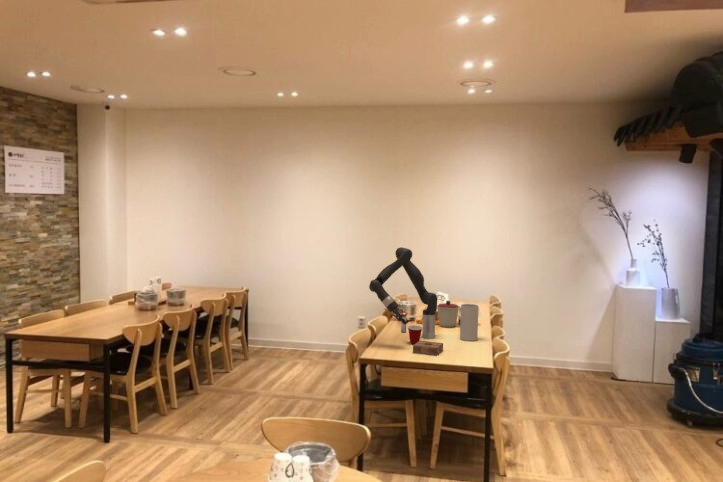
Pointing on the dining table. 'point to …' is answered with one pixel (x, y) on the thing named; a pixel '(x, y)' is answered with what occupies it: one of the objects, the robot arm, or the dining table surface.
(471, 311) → the cylinder vase
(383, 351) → the dining table surface
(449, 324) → the canister
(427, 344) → the block
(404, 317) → the lynch pin
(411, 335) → the plastic cup
